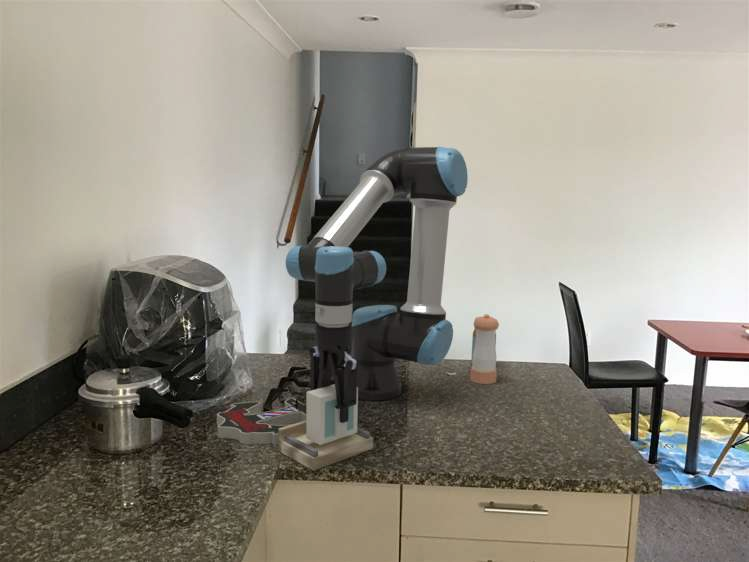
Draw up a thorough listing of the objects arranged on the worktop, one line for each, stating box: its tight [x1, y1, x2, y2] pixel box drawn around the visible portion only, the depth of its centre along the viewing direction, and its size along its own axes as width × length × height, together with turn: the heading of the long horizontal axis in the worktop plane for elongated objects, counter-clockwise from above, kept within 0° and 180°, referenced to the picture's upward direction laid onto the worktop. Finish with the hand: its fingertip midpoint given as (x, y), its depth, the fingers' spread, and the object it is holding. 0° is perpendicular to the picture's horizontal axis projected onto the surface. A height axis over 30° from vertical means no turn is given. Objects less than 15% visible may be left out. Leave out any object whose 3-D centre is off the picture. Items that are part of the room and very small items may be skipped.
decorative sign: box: [216, 397, 307, 446], centre depth 155 cm, size 22×3×30 cm
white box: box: [306, 383, 359, 445], centre depth 138 cm, size 5×10×10 cm, turn 133°
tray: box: [277, 420, 374, 472], centre depth 140 cm, size 12×16×5 cm
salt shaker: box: [470, 314, 500, 385], centre depth 188 cm, size 7×7×19 cm
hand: (332, 431), depth 139 cm, fingers closed on white box, 5 cm apart
